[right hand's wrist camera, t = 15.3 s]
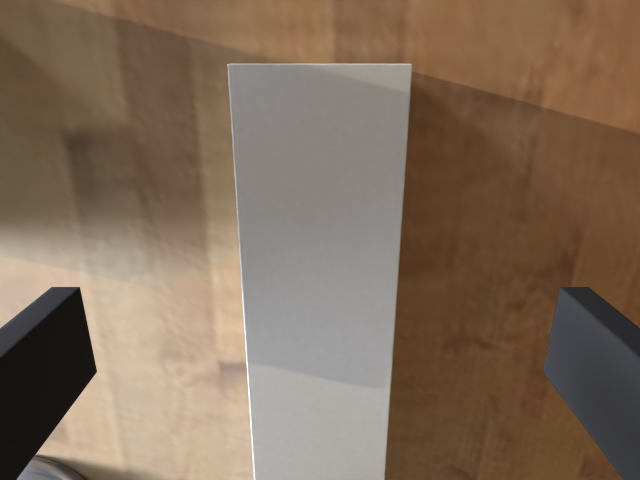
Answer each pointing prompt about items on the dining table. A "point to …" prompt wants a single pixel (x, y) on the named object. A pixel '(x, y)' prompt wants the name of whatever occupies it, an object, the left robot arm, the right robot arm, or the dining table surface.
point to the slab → (319, 260)
